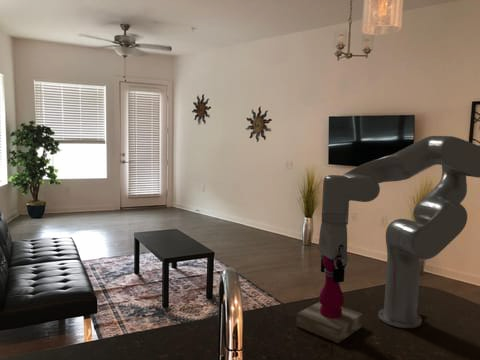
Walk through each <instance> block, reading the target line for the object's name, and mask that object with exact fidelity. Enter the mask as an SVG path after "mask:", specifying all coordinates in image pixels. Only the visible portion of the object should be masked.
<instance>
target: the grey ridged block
mask: <svg viewBox="0 0 480 360" xmlns="http://www.w3.org/2000/svg"><path fill="white" fill-rule="evenodd" d="M321 306H322V305H321V303H320V302H319V301H318V302H316V303H314V304H312V305H310V306H308V307H306V308H305V309H302V310H300V311H298V312H297V313H296V325H295V326H296V327H297V328H300V329H303V330H305V331H307V332H310V333H313V334H314V335H317V336H320V337H322V338H324V339H327V340H329V341H332V342H334V343H337V344H339V343H341V342H342V341H344V340H345V339H346V338H348V337H349V336H352V334H354V333H355V332H357V331H358V330H359V329H361V328H363V320H364V319H363V318H364V317H363V315H364V314H363V313H361V312H358V311H356V310H354V309H353V310H352V309H350V308H346V307H344V306H341V307H340V308H341V309H342V315H341V317H339V318H327V317H324V316H323V315H321V313H320V307H321Z"/></svg>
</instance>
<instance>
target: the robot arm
mask: <svg viewBox="0 0 480 360" xmlns="http://www.w3.org/2000/svg"><path fill="white" fill-rule="evenodd" d="M437 165H438V166H441V179H440V181H439V182H438V184H437V185H436V186H435V187H434V188H433V189H432V190H431V191H429V193H427V194H426V195H425V196H424V197H423V198H422V199H420V201H419V202H418V203H417V204H416V205H415V206H414V209H413V213H412V215H413V218H414V221H413V220H410V219H405V218H398V219H394V220H393V221H391V222H390V223H389V225H388V226H387V228H386V230H385V244H386V253H387V255H386V257H387V258H386V259H387V260H386V274H385V288H384V289H385V290H384V300H383V301H384V304H383V308H381V309H380V310H378V315H377V316H378V319H379V320H381V322H383V323H385V324H387V325H389V326H392V327H396V328H401V329H414V328H415V329H416V328H418V327H420V326H421V325H422V322H423V320H422V317H421V316H420V315H419V314H418V313H417V312H418V306H419V300H418V299H419V287H420V274H421V261H420V260H423V261H424V260H430V259H433V258H435V257H436V256H438V255H439V254H440V253H441V252H442V251H443V250H445V249H446V247H447V246H448V245H450V243H451V242H453V241H454V239H456V238H457V237H458V236H459V235H460V234H461V232H463V230H464V229H465V227H466V225H467V223H468V222H467V221H468V211H467V209H466V208H465V206H463V204H461V203H462V202H463V201H464V199H465V198H466V196H467V192H468V187H467V186H468V185H467V184H468V183H467V177H472V178H479V179H480V145H478V144H475V143H472V142H470V141H468V140H465V139H463V138H459V137H456V136H451V135H450V136H449V135H431V136H426V137H424V138H422V139H420V140H418V141H416V142H413V143H412V144H410V145H409V146H406V147H404V148H403V149H401V150H398V151H396V152H395V153H392V154H390V155H389V154H388V155H386V156H383V157H380V158H377V159H373V160H371V161H368V162H365V163H362V164H361V165H359V166H356V167H354V168H353V169H351V170H349V171H347V172H345V173H344V174H343V175H340V174H337V175H336V174H330V175H326V176H324V178H323V182H322V186H323V187H322V206H321V224H320V228H319V229H320V230H319V236H318V237H319V238H318V251H319V252H320V253H321V254H320V258H321V259H320V272H321V273H324V272H325V271H324V269H325V266H324V265H323V258H324V256H326V257H327V258H329V259H330V260H333V261H334V266H335V268H333V282H339V283H344V282H345V271H346V267H347V263H348V262H349V257H348V254H347V253H348V228H347V227H348V225H349V210H350V209H349V208H350V201H353V202H359V203H360V202H362V203H369V202H372V201H373V200H375V199H377V198H378V196H379V194H380V192H381V187H380V184H381V183H389V182H390V183H391V182H399V181H406V180H408V179H411V178H413V177H414V176H416V175H419V174H420V173H422V172H424V171H426V170H427V169H430V168H431V167H434V166H437ZM336 256H340V257H337V258H336ZM337 260H341V261H340V262H339V263H337Z"/></svg>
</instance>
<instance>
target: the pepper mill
mask: <svg viewBox="0 0 480 360" xmlns="http://www.w3.org/2000/svg"><path fill="white" fill-rule="evenodd" d="M337 257H340V256H336V258H337ZM340 261H341V260H337V263H339V262H340ZM323 265H324V266H325V269H324V271H325V272H323V273H324V275H325V281H324V284H323V287H322V289H321V291H320V293H319V296H318V302H320V303H321V305H322V306H321V307H320V313H321V315H323V316H324V317H327V318H339V317H341V315H342V309H341V308H340V307H343V306H344V304H345V296H344V293H343V291H342V288H341V285H340V282H333V268H335V266H334V261H333V260H330V259H329V258H327V257H326V256H324V258H323Z"/></svg>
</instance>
